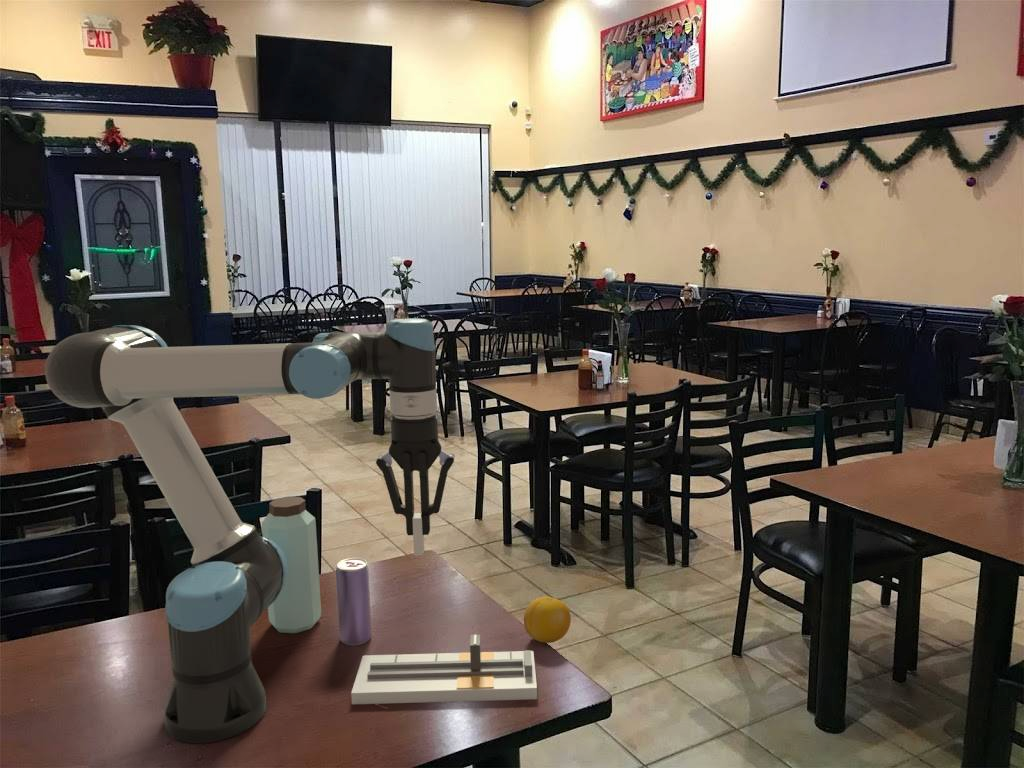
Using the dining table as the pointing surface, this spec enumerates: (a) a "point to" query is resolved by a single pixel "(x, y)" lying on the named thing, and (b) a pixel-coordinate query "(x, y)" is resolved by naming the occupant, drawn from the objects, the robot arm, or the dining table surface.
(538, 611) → the fruit
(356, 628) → the beverage can
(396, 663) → the console
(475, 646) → the fader
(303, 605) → the water bottle
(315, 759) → the dining table surface
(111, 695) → the dining table surface
